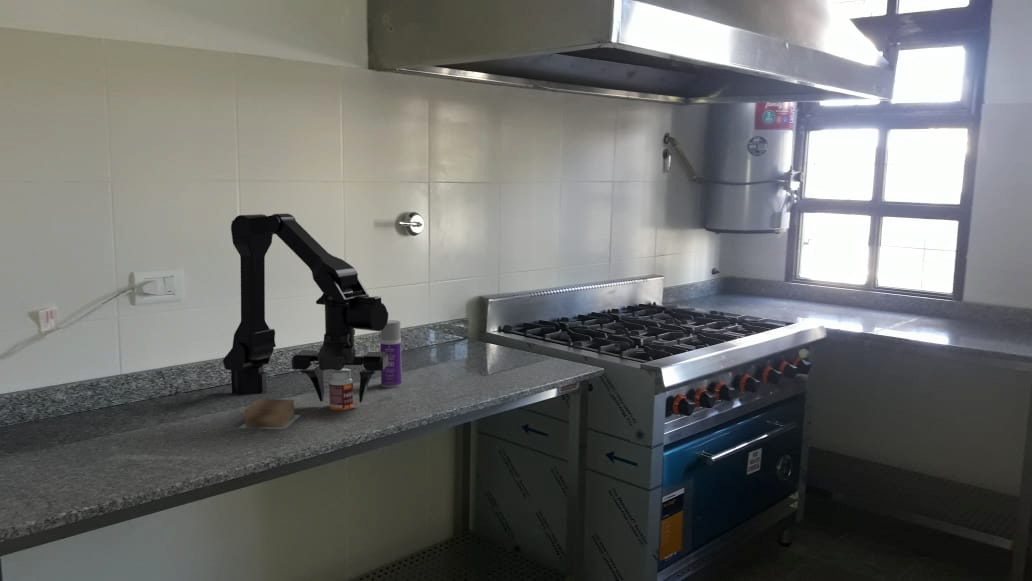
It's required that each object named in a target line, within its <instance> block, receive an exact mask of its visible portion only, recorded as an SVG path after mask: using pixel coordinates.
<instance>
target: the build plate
mask: <svg viewBox="0 0 1032 581" xmlns="http://www.w3.org/2000/svg"><path fill="white" fill-rule="evenodd" d="M300 417H301V414H294V417H293V418H292V419H291V420H289V421H288V422H287V423H286V424H285V425H284V426H283V427H251V426H246V424H245V422H244V423H243V424H242V425H240V426H239V427H238V429H259V430H260V429H261V430H266V429H267V430H270V429H271V430H286V429H288V427H290V425H292V424H293V423H294V422H295V421H296V420H297V419H299V418H300Z"/></svg>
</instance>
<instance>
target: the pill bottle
mask: <svg viewBox="0 0 1032 581" xmlns="http://www.w3.org/2000/svg"><path fill="white" fill-rule="evenodd" d="M351 376H352V370H351V369H349V368H343V369H342V370H338V371H336V370H330V378H331V379H329V382H328V384H329V385H328V386H329V388H328V389H329V391H328V392H329V409H331V410H332V411H346V410H350V409H353V408H354V382H353V379H352V378H351Z"/></svg>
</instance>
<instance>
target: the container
mask: <svg viewBox="0 0 1032 581" xmlns="http://www.w3.org/2000/svg"><path fill="white" fill-rule="evenodd" d="M401 334H402V333H401V320H395V319H388V321H387V324H386V326H385V328H384V329H383V330H381V331H380V352H385V353H386V354H387V355H388V365H387V366H386V367H385V368H384V370H381V371H380V380H381V381H380V384H381V387H383V388H387V389H389V388H390V389H391V388H393V387H394V388H400V387H401V386H402V337H401V336H402V335H401Z"/></svg>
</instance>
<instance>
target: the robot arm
mask: <svg viewBox="0 0 1032 581" xmlns="http://www.w3.org/2000/svg"><path fill="white" fill-rule="evenodd" d="M230 231H231V239H232V243H233V247H234V249H236V251H237V253H238V255H239V257H240V258H239V259H240V322H239V325H238V327H237V328H236V330H235V331H234V334H233V340H232V347H231V349H230V350H229V351H228V353H227V354H226V355H225V357H224V358H223V359H222V363H223V366H224V369H225V370H226V371H227V370H228V371H230V379H231V380H230V381H231V384H230V385H231V394H235V395H241V396H243V395H262V394H264V393H265V392H267V391H268V388H267V386H268V385H267V372H266V371H264V370H265V369H264V368H265V365H268V364H269V363H270V360H271V357H272V354H274V348H276V347H277V345H276V340H275V339H276V330H275V328H270V327H269V325H268V324H267V322H266V307H265V306H266V305H265V302H266V298H265V297H266V293H265V292H266V291H265V290H266V288H265V286H266V285H265V284H266V282H265V279H266V278H265V275H266V274H265V273H266V272H265V269H266V268H265V264H266V263H265V261H266V260H265V257H266V255H267V253H268V251H269V249H270V247H271V245H272V243H273V242H272V241H273V235H276V236H277V237H278V238H279V240H281V241H282V243H284V244H285V245H286V246H287V247H288V248H289V249H290V250H291V251H292V252H293V253H294V254H295V256H297V258H299V259H300V260H301V261H302V262H303V263H304V264H305V265H306V266H307V267H308V268H309V270H310V271H311V275H312V279H313V281H314V283H315V284H316V285H317V286H318V288H319V289H320V291H321V292H322V295H321V296H320V297H319V298H318V299H317V300H315V304H317V305H323V306H324V323H325V324H324V326H325V327H324V329H325V333H324V335H323V343H322V346H321V347H320V349H319V351H318V350H300V351H298V352H297V353H295V354H294V355H293V356H292V358H291V369H292V370H300V373H301V374H305V375H306V376H308V377H309V379H310V381H311V383H312V384H313V386H314V389H315V391H316V394H317V396H318V399H319V401H320V402H323V401H324V399H325V397H324V396H325V395H324V394H325V385H324V383H325V382H324V371H327V370H330V371H331V370H336V371H338V370H342V369H343V368H344V367H345V366H362V369H361V370H360V371H359V373H358V374H359V377H360V378H359V379H360V380H359V390H358V391H359V392H358V399H359V401H358V402H359V403H362V402H363V401H364V399H365V394H366V392H367V389H368V386H369V383H370V380H371V378H372V377H373V375H375V374H376V373H377V372H379V371H380V372H381V370H384V368H385V367H386V366H387V365H388V355H387V354H386V353H385V352H381V351H368V352H367V353H366V354H365V355H356V348H355V335H356V330H364V331H371V332H373V331H374V332H381V330H383V329H384V328H385V326H386V324H387V321H388V320H389V312H388V310H387V307H386V305H385V304H384V303H382V296H378V295H377V296H370V295H369V293H368V292H367V289H366V288H365V287H364V285H363V283H362V281H361V280H360V278H359V276H358V275H359V274H358V271H357V270H356V268H355V267H353V266H352V265H351V264H350V263H348V262H346V261H345V260H344V259H342V258H339V257H338V256H335V255H332V254H331V253H329V252H328V251H327V250H326V249H325V248H324V247H323V246H321V244H320V243H319V242H318V241H317V240H316V239H315V238H314V237H312V235H310V233H309V232H308V231H307V230H305V229H304V228H303V226H302V225H301V224H300V223H298V221H297V220H296V218H295V216H293V214H290V213H273V214H271V215H267V214H262V213H260V214H241V215H237V216H235V218H234V219H233V220H232V221H231V225H230ZM269 365H270V364H269ZM344 369H345V368H344Z"/></svg>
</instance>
